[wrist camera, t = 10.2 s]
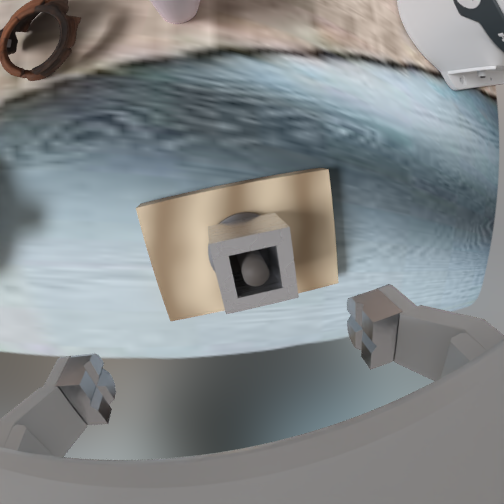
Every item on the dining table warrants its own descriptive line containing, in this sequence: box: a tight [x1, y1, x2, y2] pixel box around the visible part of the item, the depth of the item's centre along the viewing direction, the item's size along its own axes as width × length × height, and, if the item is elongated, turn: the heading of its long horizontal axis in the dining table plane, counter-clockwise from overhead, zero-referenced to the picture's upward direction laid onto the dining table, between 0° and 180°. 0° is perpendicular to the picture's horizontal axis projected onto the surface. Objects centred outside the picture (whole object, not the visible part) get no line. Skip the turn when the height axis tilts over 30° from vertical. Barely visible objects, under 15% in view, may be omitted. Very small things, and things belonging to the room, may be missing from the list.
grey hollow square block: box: [208, 213, 298, 314], centre depth 25 cm, size 6×6×5 cm
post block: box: [136, 168, 338, 321], centre depth 26 cm, size 18×12×8 cm, turn 100°
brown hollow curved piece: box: [0, 0, 81, 81], centre depth 17 cm, size 12×10×8 cm
